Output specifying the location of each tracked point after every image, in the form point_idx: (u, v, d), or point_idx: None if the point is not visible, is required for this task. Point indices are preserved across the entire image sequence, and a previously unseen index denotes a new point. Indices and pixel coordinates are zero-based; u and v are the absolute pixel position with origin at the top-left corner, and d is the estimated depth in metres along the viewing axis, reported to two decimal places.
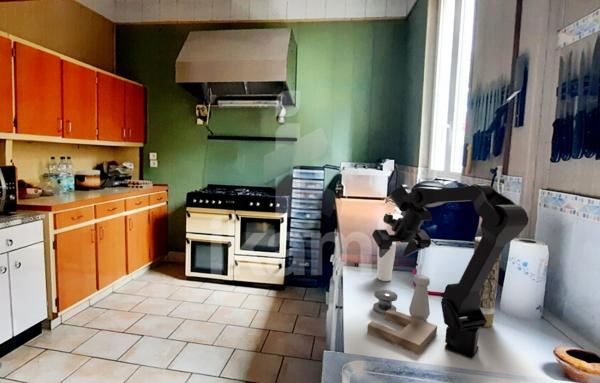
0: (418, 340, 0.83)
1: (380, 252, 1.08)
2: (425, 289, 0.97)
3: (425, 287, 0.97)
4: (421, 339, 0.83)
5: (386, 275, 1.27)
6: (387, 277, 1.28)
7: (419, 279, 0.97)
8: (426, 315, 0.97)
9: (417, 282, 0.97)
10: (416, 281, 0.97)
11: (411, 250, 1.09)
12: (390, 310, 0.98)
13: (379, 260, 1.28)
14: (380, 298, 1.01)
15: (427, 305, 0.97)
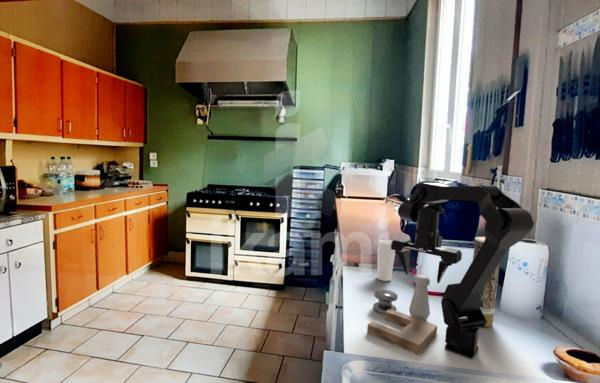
0: (418, 340, 0.83)
1: None
2: (425, 289, 0.97)
3: (425, 287, 0.97)
4: (421, 339, 0.83)
5: (386, 275, 1.27)
6: (387, 277, 1.28)
7: (419, 279, 0.97)
8: (426, 315, 0.97)
9: (417, 282, 0.97)
10: (416, 281, 0.97)
11: None
12: (390, 310, 0.98)
13: (379, 260, 1.28)
14: (380, 298, 1.01)
15: (427, 305, 0.97)
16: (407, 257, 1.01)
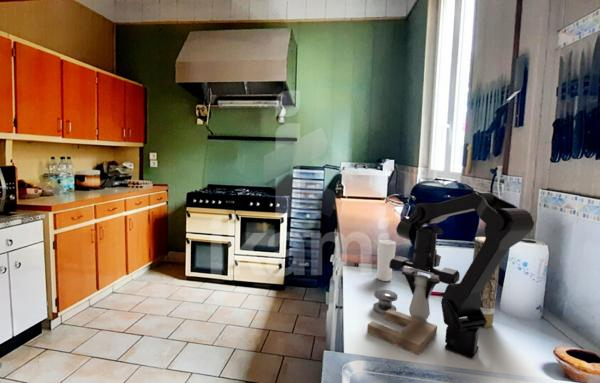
0: (418, 340, 0.83)
1: None
2: (425, 289, 0.97)
3: (425, 287, 0.97)
4: (421, 339, 0.83)
5: (386, 275, 1.27)
6: (387, 277, 1.28)
7: (419, 279, 0.97)
8: (426, 315, 0.97)
9: (417, 282, 0.97)
10: (416, 281, 0.97)
11: None
12: (390, 310, 0.98)
13: (379, 260, 1.28)
14: (380, 298, 1.01)
15: (427, 305, 0.97)
16: (414, 278, 0.99)
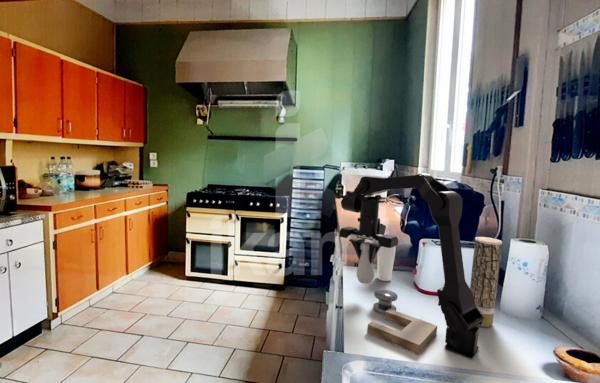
0: (418, 340, 0.83)
1: None
2: None
3: None
4: (421, 339, 0.83)
5: (386, 275, 1.27)
6: (387, 277, 1.28)
7: (363, 245, 1.07)
8: (370, 277, 1.07)
9: (362, 248, 1.07)
10: (361, 247, 1.08)
11: None
12: (390, 310, 0.98)
13: (379, 260, 1.28)
14: (380, 298, 1.01)
15: (371, 268, 1.07)
16: None
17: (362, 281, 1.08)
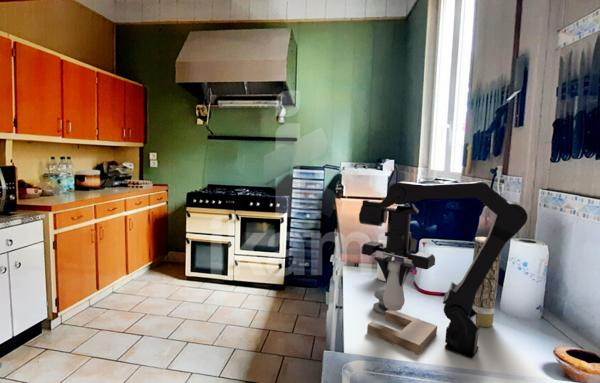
0: (418, 340, 0.83)
1: None
2: (399, 275, 0.89)
3: (399, 273, 0.89)
4: (421, 339, 0.83)
5: None
6: None
7: (392, 264, 0.89)
8: (400, 303, 0.89)
9: (390, 267, 0.89)
10: (389, 267, 0.90)
11: None
12: (390, 310, 0.98)
13: None
14: (380, 298, 1.01)
15: (401, 293, 0.89)
16: None
17: (390, 308, 0.90)
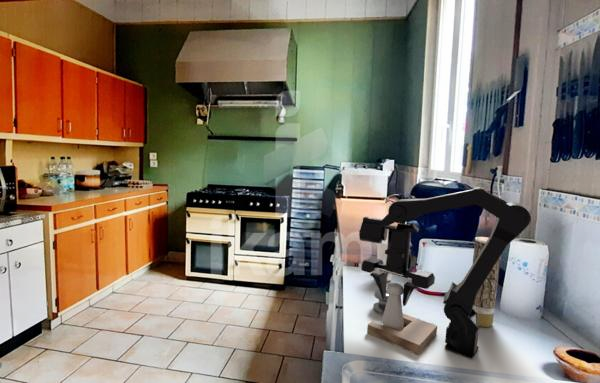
0: (418, 340, 0.83)
1: None
2: (398, 298, 0.90)
3: (398, 296, 0.90)
4: (421, 339, 0.83)
5: None
6: (387, 277, 1.28)
7: (392, 288, 0.89)
8: (399, 326, 0.89)
9: (390, 291, 0.90)
10: (389, 290, 0.90)
11: None
12: None
13: None
14: (380, 298, 1.01)
15: (401, 316, 0.90)
16: (384, 280, 0.93)
17: None
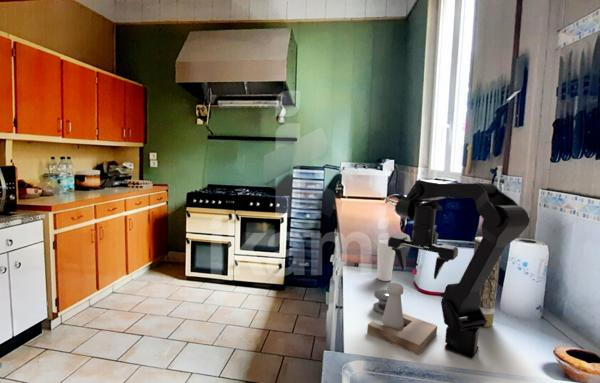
0: (418, 340, 0.83)
1: None
2: (398, 298, 0.90)
3: (398, 296, 0.90)
4: (421, 339, 0.83)
5: (386, 275, 1.27)
6: (387, 277, 1.28)
7: (392, 288, 0.89)
8: (399, 326, 0.89)
9: (390, 291, 0.90)
10: (389, 290, 0.90)
11: None
12: None
13: (379, 260, 1.28)
14: (380, 298, 1.01)
15: (401, 316, 0.90)
16: (404, 254, 1.01)
17: None
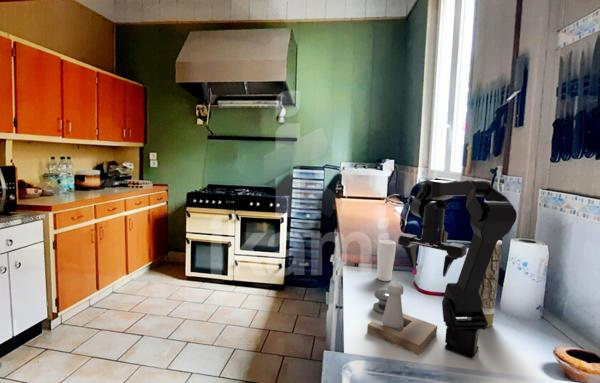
0: (418, 340, 0.83)
1: None
2: (398, 298, 0.90)
3: (398, 296, 0.90)
4: (421, 339, 0.83)
5: (386, 275, 1.27)
6: (387, 277, 1.28)
7: (392, 288, 0.89)
8: (399, 326, 0.89)
9: (390, 291, 0.90)
10: (389, 290, 0.90)
11: None
12: None
13: (379, 260, 1.28)
14: (380, 298, 1.01)
15: (401, 316, 0.90)
16: (414, 252, 1.04)
17: None
